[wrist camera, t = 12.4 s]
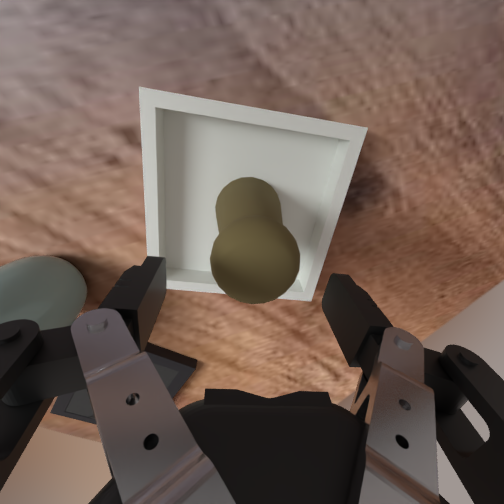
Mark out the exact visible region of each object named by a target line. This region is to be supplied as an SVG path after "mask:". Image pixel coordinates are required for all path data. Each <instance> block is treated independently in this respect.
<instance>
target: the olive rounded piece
mask: <svg viewBox="0 0 504 504" xmlns="http://www.w3.org/2000/svg"><path fill="white" fill-rule="evenodd" d="M215 211H216V219H217V225H218V231H219V235H218V236H217V238H216V239H215V241H214V243H213V247H212V251H211V255H210V265H211V272H212V275H213V277H214V279H215V281H216V283H217V285H218V287H220V288H221V289H222V290H223V291H224V292H225V293H226V294H227V295H228V296H230V297H232V298H234V299H236V300H238V301H240V302H244V303H249V304H259V303H266V302H269V301H272V300H275V299H277V298H278V297H280V296H281V295H283V294H284V293H285V292H286V291H287V290H288V289H289V288H290V287H291V286H292V284H293V283H294V282H295V280H296V277H297V275H298V273H299V269H300V251H299V248H298V245H297V242H296V240H295V238H294V236H293V235H292V234H291V233H290V231H289V230H288V229H287V227H285V226H284V225H283V221H282V212H281V203H280V200H279V197H278V194H277V193H276V191H275V190H274V189H273V187H272V186H271V185H269V184H268V183H266V182H265V181H264V180H261V179H258V178H254V177H241V178H239V179H236V180H233V181H231V182H230V183H229V184H227V185H226V186H225V187H224V188H223V189H222V191H221V192H220V194H219V195H218V197H217V201H216V206H215Z"/></svg>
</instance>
